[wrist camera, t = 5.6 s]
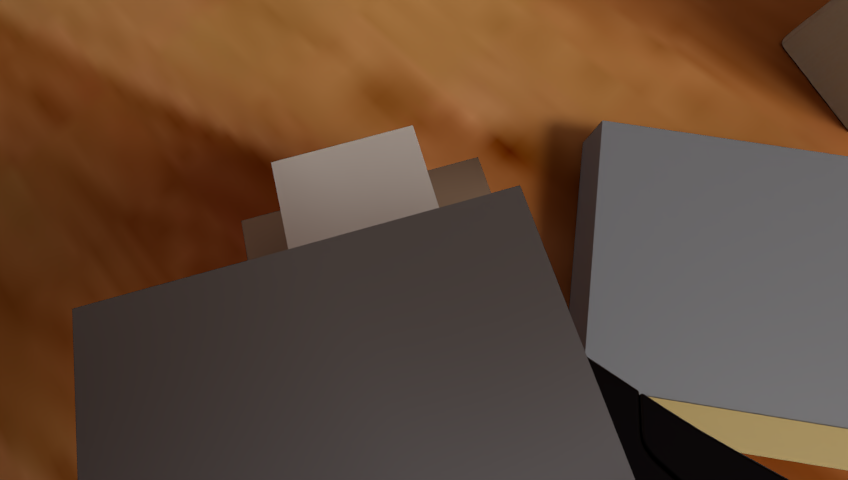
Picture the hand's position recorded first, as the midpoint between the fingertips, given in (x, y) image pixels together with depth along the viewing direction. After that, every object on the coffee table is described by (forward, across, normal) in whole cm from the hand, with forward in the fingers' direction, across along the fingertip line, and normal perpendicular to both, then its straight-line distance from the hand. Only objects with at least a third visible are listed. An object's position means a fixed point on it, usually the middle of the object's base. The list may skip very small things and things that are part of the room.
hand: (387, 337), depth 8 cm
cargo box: (+6, 0, +2) cm, 7 cm away
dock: (+8, -15, +10) cm, 20 cm away
